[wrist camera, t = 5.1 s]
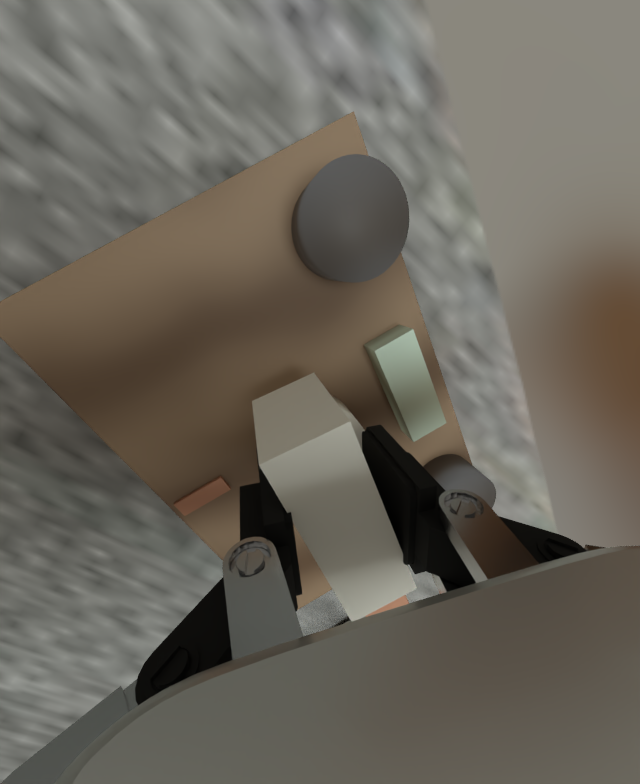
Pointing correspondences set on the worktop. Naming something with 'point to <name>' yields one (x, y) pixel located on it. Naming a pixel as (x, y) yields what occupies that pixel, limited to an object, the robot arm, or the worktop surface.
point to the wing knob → (331, 494)
